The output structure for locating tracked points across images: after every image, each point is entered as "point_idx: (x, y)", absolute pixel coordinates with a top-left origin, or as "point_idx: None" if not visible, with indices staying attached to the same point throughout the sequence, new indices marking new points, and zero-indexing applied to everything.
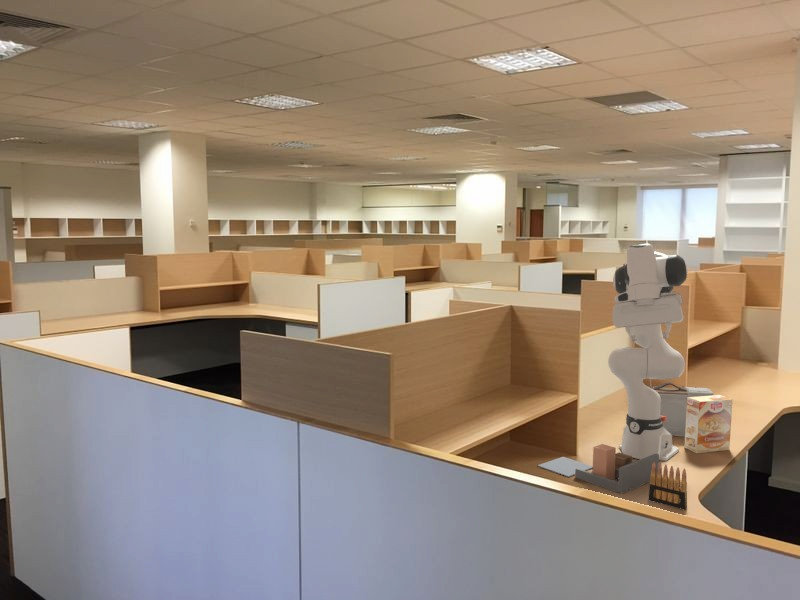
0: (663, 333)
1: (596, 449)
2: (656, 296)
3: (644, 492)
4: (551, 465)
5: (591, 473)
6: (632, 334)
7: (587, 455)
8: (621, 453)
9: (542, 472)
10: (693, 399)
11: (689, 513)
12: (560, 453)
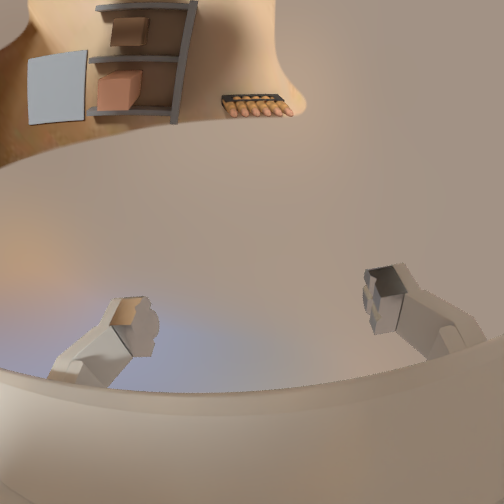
0: (379, 327)
1: (105, 109)
2: None
3: (204, 80)
4: (40, 106)
5: (116, 112)
6: (102, 332)
7: (50, 12)
8: (120, 19)
9: (49, 136)
10: None
11: None
12: (16, 48)
